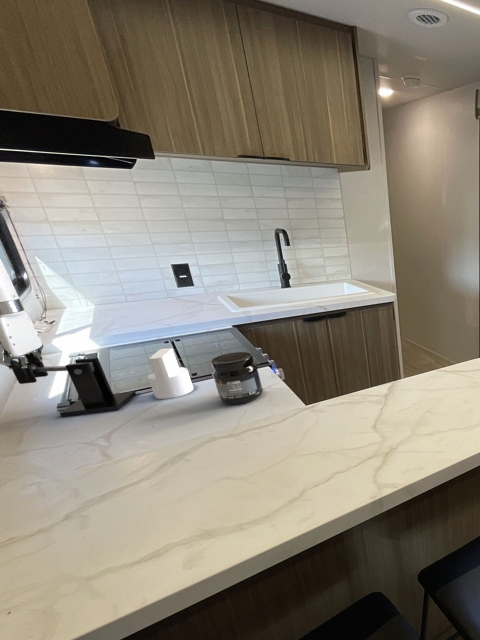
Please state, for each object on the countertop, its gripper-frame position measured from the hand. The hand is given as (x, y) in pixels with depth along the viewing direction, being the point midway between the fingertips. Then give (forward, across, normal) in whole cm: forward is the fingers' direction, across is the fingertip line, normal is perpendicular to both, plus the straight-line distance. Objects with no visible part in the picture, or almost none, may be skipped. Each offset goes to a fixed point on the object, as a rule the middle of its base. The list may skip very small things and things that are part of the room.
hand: (34, 379), depth 102 cm
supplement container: (+10, +7, +46) cm, 48 cm away
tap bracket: (+9, 0, +11) cm, 14 cm away
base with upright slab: (+10, -4, +27) cm, 28 cm away
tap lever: (0, 0, +5) cm, 5 cm away
